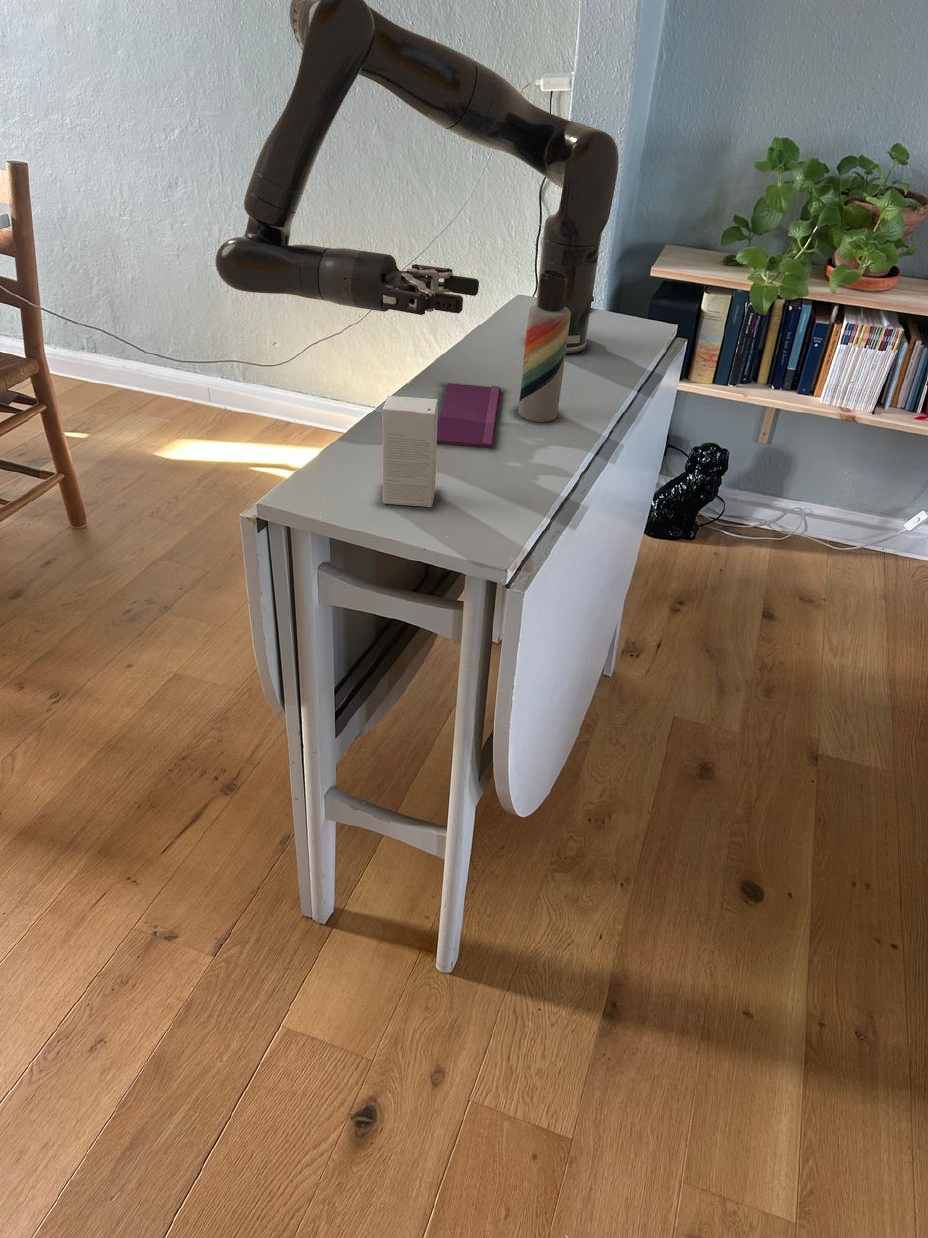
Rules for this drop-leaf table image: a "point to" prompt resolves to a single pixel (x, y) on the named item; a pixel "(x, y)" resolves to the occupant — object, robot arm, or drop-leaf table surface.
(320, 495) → the drop-leaf table surface
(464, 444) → the purple rectangular block
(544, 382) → the lotion bottle
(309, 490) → the drop-leaf table surface
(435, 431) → the cosmetic box
